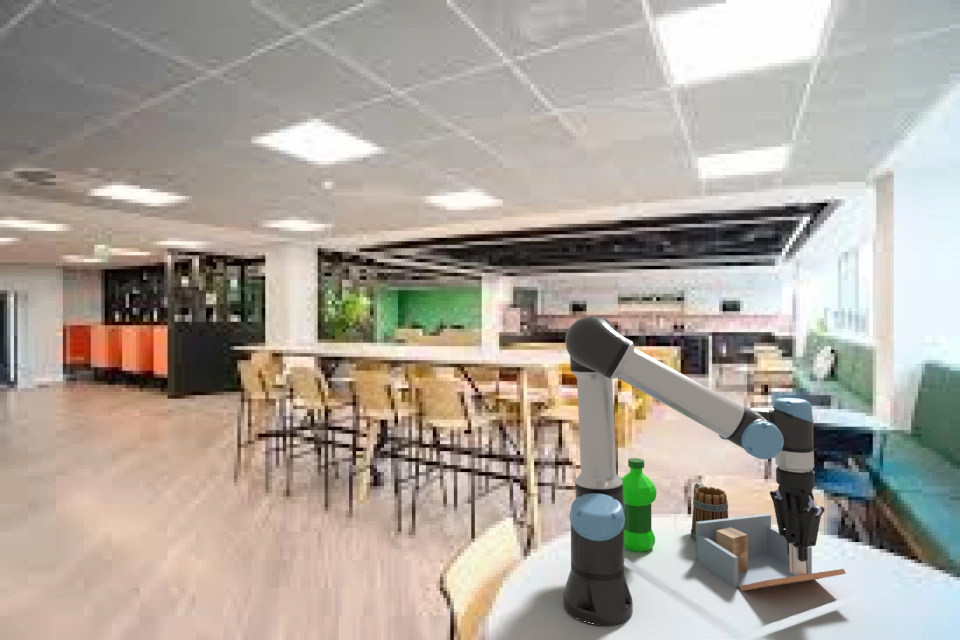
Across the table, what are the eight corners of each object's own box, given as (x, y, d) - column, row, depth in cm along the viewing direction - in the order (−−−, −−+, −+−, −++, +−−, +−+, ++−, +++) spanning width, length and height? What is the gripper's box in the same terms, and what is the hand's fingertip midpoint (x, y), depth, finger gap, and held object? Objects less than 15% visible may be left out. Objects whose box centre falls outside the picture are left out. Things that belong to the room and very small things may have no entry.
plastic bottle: (651, 543, 151) (651, 455, 150) (659, 560, 140) (658, 466, 140) (615, 541, 152) (615, 454, 152) (620, 558, 142) (619, 465, 141)
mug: (738, 552, 145) (737, 497, 144) (699, 552, 145) (698, 497, 145) (713, 529, 160) (713, 479, 160) (678, 529, 160) (678, 479, 160)
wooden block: (733, 575, 129) (733, 538, 129) (716, 566, 134) (716, 530, 133) (747, 570, 131) (747, 534, 131) (730, 562, 136) (730, 527, 135)
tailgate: (738, 592, 123) (769, 585, 114) (736, 586, 123) (766, 579, 114) (811, 581, 127) (846, 574, 118) (808, 575, 128) (843, 568, 119)
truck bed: (733, 594, 123) (733, 544, 123) (695, 566, 137) (695, 521, 137) (811, 582, 128) (811, 534, 128) (767, 556, 142) (767, 513, 142)
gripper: (834, 474, 114) (838, 584, 114) (785, 459, 127) (788, 558, 127) (805, 477, 112) (809, 589, 112) (758, 461, 125) (761, 562, 125)
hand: (798, 572), depth 119 cm, fingers closed
